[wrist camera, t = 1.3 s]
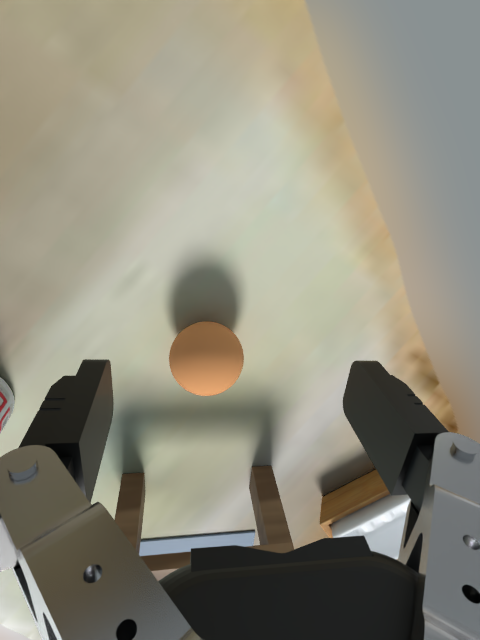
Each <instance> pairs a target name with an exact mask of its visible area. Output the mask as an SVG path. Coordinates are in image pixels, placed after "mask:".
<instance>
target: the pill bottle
mask: <svg viewBox="0 0 480 640" xmlns="http://www.w3.org/2000/svg"><path fill="white" fill-rule="evenodd" d="M14 404H15V401H14V396H13V393H12V390H11V389H10V387H9V385H8V384H7V383H6V382H5V381H4V380H3V379H2V378H1V377H0V433H1V431H2V430H3V428H4V426H5V425H6V423H7V421H8V420H9V418H10V416H11V414H12V412H13V409H14Z"/></svg>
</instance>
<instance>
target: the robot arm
mask: <svg viewBox="0 0 480 640" xmlns="http://www.w3.org/2000/svg"><path fill="white" fill-rule="evenodd" d="M343 409H344V413H345V416H346V417H347V419H348V421H349V423H350V424H351V426H352V428H353V430H354V431H355V433H356V435H357V437H358V438H359V440H360V442H361V444H362V445H363V447H364V449H365V451H366V452H367V454H368V456H369V458H370V459H371V461H372V463H373V464H374V466H375V468H376V470H377V471H378V473H379V475H380V477H381V478H382V480H383V482H384V484H385V485H386V487H387V489H388V491H389V492H390V494H391V496H394V495H408V496H409V498H410V499H411V500H410V502H409V505H408V508H407V512H406V518H405V523H404V529H403V535H402V540H401V546H400V551H399V557H398V560H396V559H394V558H391V557H389V556H387V555H384V554H381V553H378V552H374V551H371V550H370V548H369V545H368V543H367V541H366V539H365V537H364V535H363V536H350V537H336V538H324V539H321V540H318V541H316V542H313V543H311V544H308V545H305V546H303V547H300V548H297V549H295V550H292V551H290V552H287V553H276V552H271V551H265V550H260V549H254V548H249V547H243V546H238V545H231V546H217V547H204V548H191V556H190V564H189V565H186V566H184V567H181V568H179V569H177V570H175V571H173V572H171V573H170V574H168V575H167V576H165V577H164V578H162V579H161V580H159V581H157V579H156V578H155V576H154V575H153V574H152V572H151V571H150V569H149V568H148V567H147V565H146V564H145V562H144V561H143V560H142V558H141V557H140V555H139V554H138V553H137V551H136V550H135V549H134V547H133V546H132V544H131V543H130V542H129V540H128V539H127V537H126V536H125V535H124V533H123V532H122V530H121V529H120V528H119V526H118V525H117V523H116V522H115V521H114V519H113V518H112V516H111V515H110V514H109V512H108V511H107V510H106V508H105V507H104V506H103V505H102V504H101V503H99V502H96V503H95V504H93V505H92V504H91V499H92V495H93V491H94V487H95V483H96V479H97V476H98V472H99V468H100V464H101V460H102V456H103V452H104V448H105V445H106V441H107V437H108V433H109V429H110V425H111V421H112V416H113V390H112V377H111V365H110V361H109V360H83V361H82V363H81V366H80V368H79V370H78V372H77V374H76V376H63V377H62V378H61V379H60V380H58V381H57V382H56V383H55V384H54V385H52V386H51V388H50V390H49V392H48V393H47V395H46V397H45V401H43V403H42V405H41V407H40V410H39V411H38V412H37V414H36V416H35V418H34V420H33V421H32V423H31V425H30V427H29V429H28V431H27V433H26V435H25V436H24V438H23V440H22V442H21V444H20V446H19V448H17V449H15V450H12V451H10V452H8V453H6V454H5V455H3V456H2V457H0V572H1V571H4V570H7V569H9V568H12V570H13V572H14V575H15V577H16V579H17V582H18V584H19V586H20V589H21V591H22V593H23V596H24V598H25V601H26V603H27V605H28V608H29V610H30V612H31V615H32V617H33V619H34V622H35V624H36V626H37V629H38V631H39V634H40V636H41V639H42V640H480V444H479V443H477V442H476V441H474V440H472V439H470V438H468V437H466V436H464V435H461V434H457V433H451V432H448V431H447V430H446V428H445V427H444V426H443V425H442V424H441V423H440V422H439V421H438V419H437V418H436V417H435V416H434V415H433V414H432V413H431V412H430V410H429V409H428V408H427V407H426V406H425V405H423V403H422V401H421V400H420V399H419V398H418V397H417V396H415V394H414V393H413V391H412V390H411V389H410V388H409V387H408V386H407V385H406V384H405V383H404V382H402V381H401V380H399V379H397V378H396V377H394V376H393V375H390V374H389V373H388V372H387V371H386V370H385V369H384V367H383V366H382V365H381V364H380V363H379V362H378V361H354V362H353V364H352V366H351V369H350V373H349V377H348V381H347V385H346V389H345V393H344V397H343Z"/></svg>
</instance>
